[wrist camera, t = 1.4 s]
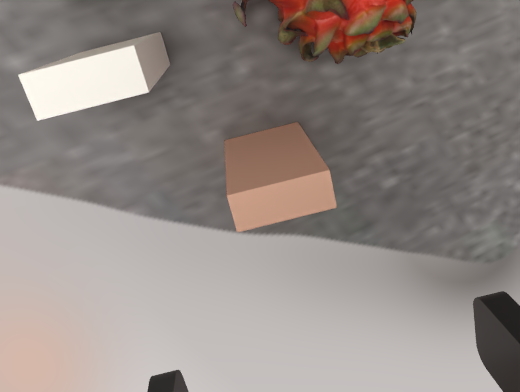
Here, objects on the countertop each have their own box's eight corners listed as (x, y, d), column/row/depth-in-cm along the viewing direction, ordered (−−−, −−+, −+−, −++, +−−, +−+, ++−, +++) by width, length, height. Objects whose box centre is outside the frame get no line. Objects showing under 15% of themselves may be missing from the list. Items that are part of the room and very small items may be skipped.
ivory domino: (80, 52, 30) (18, 75, 20) (160, 31, 30) (134, 45, 20) (92, 84, 30) (37, 120, 21) (170, 64, 30) (148, 92, 21)
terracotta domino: (224, 140, 32) (226, 195, 23) (297, 121, 32) (329, 169, 23) (231, 168, 33) (237, 232, 24) (303, 150, 33) (336, 207, 24)
